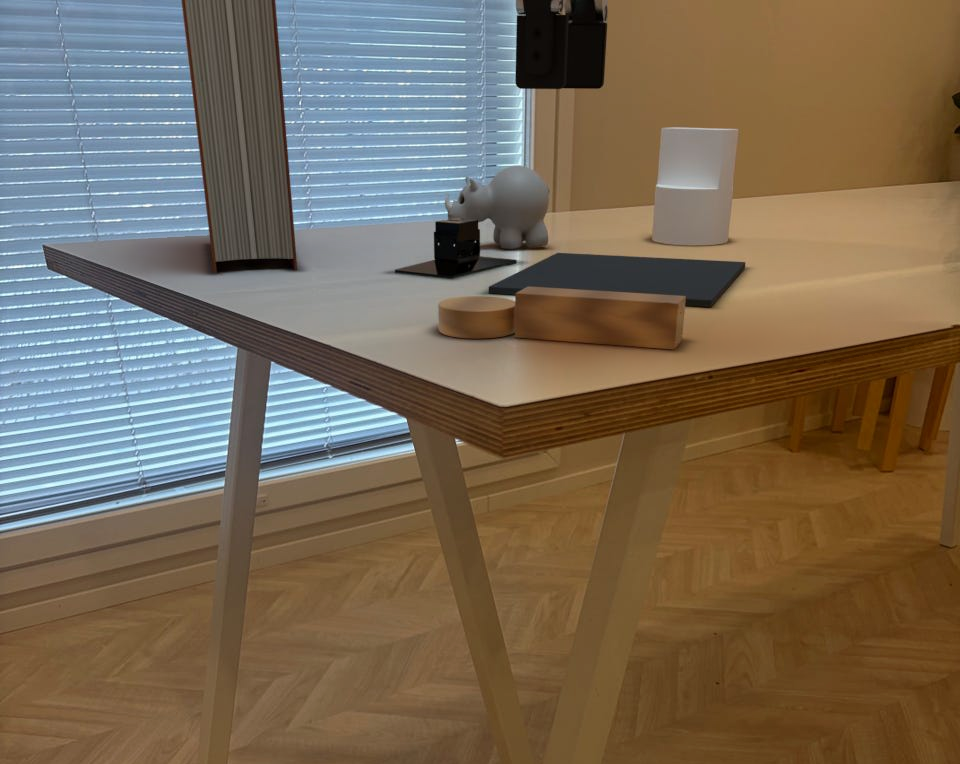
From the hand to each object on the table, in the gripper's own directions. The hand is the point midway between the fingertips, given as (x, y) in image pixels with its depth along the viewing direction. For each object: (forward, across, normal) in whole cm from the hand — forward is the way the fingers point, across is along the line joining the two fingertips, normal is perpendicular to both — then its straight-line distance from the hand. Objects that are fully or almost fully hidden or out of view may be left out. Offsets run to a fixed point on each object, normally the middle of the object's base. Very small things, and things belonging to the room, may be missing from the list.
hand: (561, 88), depth 69 cm
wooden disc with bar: (+16, 0, 0) cm, 16 cm away
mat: (+16, +26, 0) cm, 31 cm away
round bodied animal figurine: (+17, +43, +20) cm, 50 cm away
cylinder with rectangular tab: (+16, +56, 0) cm, 59 cm away
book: (+17, +28, +43) cm, 54 cm away
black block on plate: (+17, +28, +19) cm, 38 cm away
